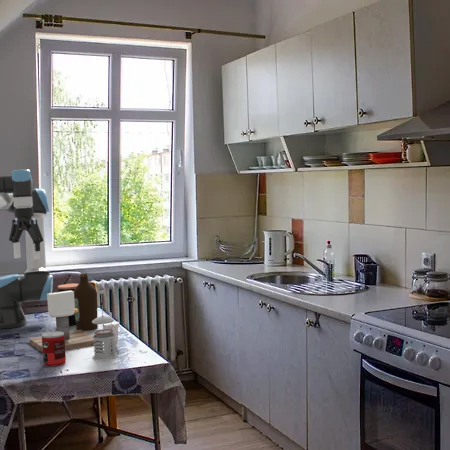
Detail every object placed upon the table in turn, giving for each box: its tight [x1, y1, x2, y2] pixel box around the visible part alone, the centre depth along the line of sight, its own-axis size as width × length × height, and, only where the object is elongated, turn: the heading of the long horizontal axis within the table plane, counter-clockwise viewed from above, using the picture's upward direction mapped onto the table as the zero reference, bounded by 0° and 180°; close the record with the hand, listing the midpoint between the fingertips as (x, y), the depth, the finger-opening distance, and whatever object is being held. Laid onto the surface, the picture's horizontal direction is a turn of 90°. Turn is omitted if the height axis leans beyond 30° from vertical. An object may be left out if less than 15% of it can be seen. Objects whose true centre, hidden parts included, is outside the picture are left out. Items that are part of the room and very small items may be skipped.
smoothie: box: [104, 312, 120, 349], centre depth 255 cm, size 6×6×14 cm
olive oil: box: [74, 272, 99, 332], centre depth 290 cm, size 11×11×25 cm
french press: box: [91, 290, 119, 362], centre depth 241 cm, size 10×12×25 cm
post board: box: [28, 316, 95, 353], centre depth 265 cm, size 22×22×12 cm
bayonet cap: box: [46, 291, 78, 318], centre depth 265 cm, size 12×10×9 cm
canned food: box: [41, 330, 67, 367], centre depth 236 cm, size 8×8×11 cm
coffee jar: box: [57, 283, 79, 327], centre depth 302 cm, size 11×11×18 cm
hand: (27, 258), depth 269 cm, fingers open, 13 cm apart
